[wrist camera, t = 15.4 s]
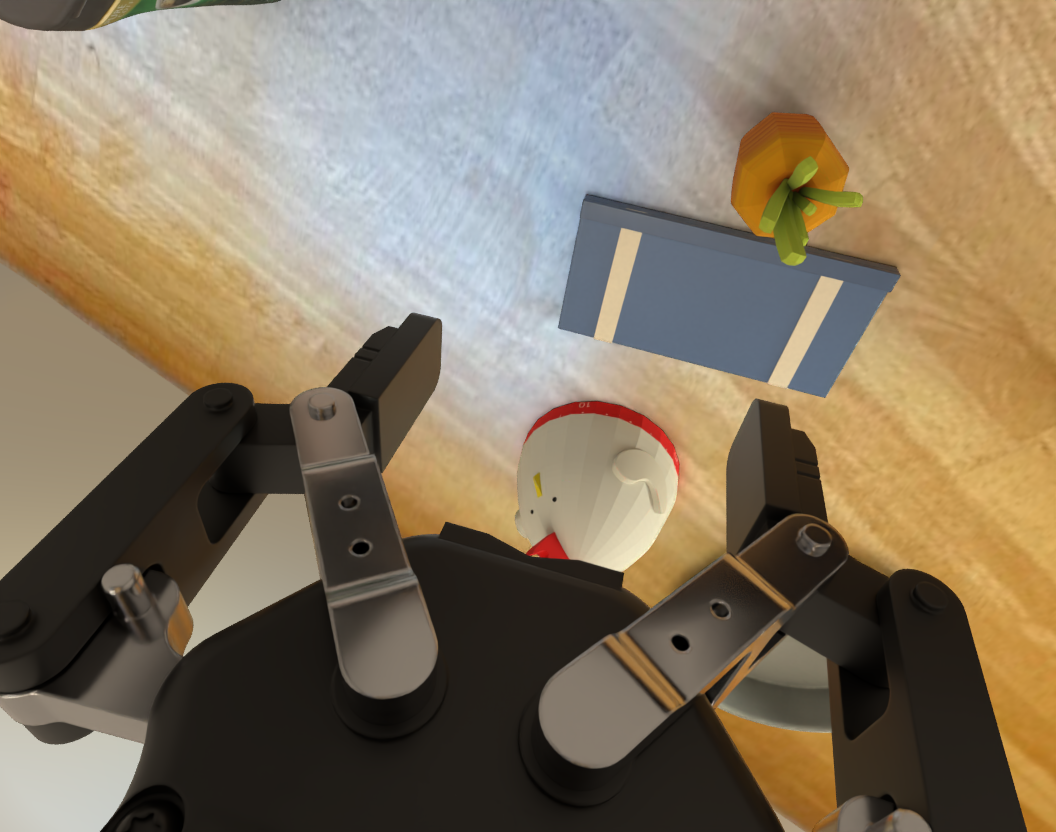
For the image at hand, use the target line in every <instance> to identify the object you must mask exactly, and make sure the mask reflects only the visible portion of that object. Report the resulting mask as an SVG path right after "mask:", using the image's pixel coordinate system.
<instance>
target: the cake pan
mask: <svg viewBox="0 0 1056 832" xmlns="http://www.w3.org/2000/svg"><path fill="white" fill-rule="evenodd" d="M718 708H720V709H722V710H724V711H726V712H728V713H731V714H733V715H736V716H738V717H741V718H744V719H747V720H750V721H753V722H757V723H760V724H764V725H768V726H772V727H777V728H782V729H789V730H795V731H805V732H820V733H832V729H831V715H830V701H829V687H828V672H827V658H826V657H824V656H822V655H820V654H819V653H817V652H815V651H814V650H812V649H810V648H809V647H807V646H805V645H804V644H802V643H800V642H798V641H797V640H795V639H793V638H792V637H790V636H787V637H786V638H785V639H784V640H783V641H782V642H781V643H780V644H779V645H778V646H777V647H776V648H775V649H774V650H773V651H772V652H770V653H769V654H768V655H767V656H766V657H765V658H764V659H763V660H762V661H761V662H760V663H759V664H758V665H757V666H756V667H755V668H754V669H753V670H752V671H751V672H750V673H749V674H748V675H747V676H745V677H744V678H743V679H742V680H741V681H740V682H739V683H738V685H737V686H736V687H735V688H734V689H733V690H732V691H731V692H730V694H729V695H728V696H727V697H726V698H725V699H724V700H723V701H722V702H721V703H720V704H719V706H718Z"/></svg>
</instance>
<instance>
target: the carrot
mask: <svg viewBox="0 0 1056 832" xmlns="http://www.w3.org/2000/svg"><path fill="white" fill-rule="evenodd" d="M848 172H849V167H848V165H847V164H846V162H845V161H844V159H843V158H842V156H841V155H840V153H839V152H838V150H837V149H836V147H835V146H834V144H833V143H832V141H831V140H830V138H829V137H828V135H827V134H826V132H825V131H824V129H823V128H822V126H821V125H820V123H819V122H818V121H817V120H816V119H815V118H814V116H811V115H808V114H795V113H775V112H772V113H771V114H769V115H768V116H767V117H766V118H765V119H763V120H762V121H761V122H760V123H758V124H757V125H756V126H755V127H753V128H752V129H751V130H750V131H748V132H747V133H746V134H745V135H744V137H743V138H742V140H741V143H740V148H739V153H738V158H737V162H736V167H735V172H734V177H733V184H732V192H731V204H732V206H733V207H734V208H735V210H736V211H737V212H738V214H739V215H740V216H741V217H742V219H743V220H744V221H745V223H746V224H747V225H748V227H749V228H750V229H751V231H752V232H753V233H754V234H755V235H756V236H762V237H773V238H775V242H776V247H777V250H778V253H779V256H780V259H781V261H782V262H783V263H785V264H787V265H792V266H796V265H798V264H800V263H802V262H803V261H804V260H805V258H806V257H807V256H806V252H805V249H804V246H806V244H807V242H808V239H809V238H808V234H807V233H808V232H809V231H811V230H812V229H814V228H815V227H817V226H819V225H820V224H822V223H823V222H825V221H826V220H828V219H829V218H831V217H832V216H834V215H835V213H836V210H837V207H861V205H862V203H863V196H862V195H861V194H860V193H857V192H842V191H843V188H844V185H845V182H846V179H847V175H848Z"/></svg>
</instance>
